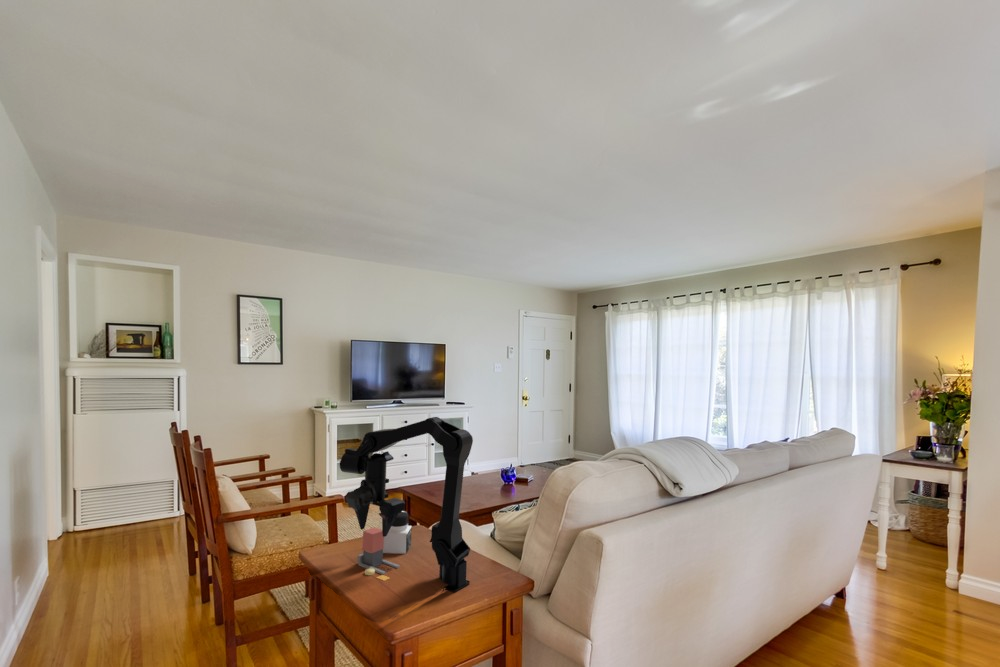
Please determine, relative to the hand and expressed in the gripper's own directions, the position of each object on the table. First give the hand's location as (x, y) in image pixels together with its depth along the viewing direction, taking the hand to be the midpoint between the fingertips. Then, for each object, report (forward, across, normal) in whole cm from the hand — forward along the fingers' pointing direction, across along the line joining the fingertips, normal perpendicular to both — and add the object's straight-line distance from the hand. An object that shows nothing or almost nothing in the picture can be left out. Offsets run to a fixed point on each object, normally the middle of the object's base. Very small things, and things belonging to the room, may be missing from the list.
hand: (373, 532), depth 138 cm
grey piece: (+10, +4, -1) cm, 11 cm away
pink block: (+4, 0, 0) cm, 4 cm away
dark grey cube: (+8, 0, 0) cm, 9 cm away
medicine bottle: (+10, -3, +12) cm, 16 cm away
